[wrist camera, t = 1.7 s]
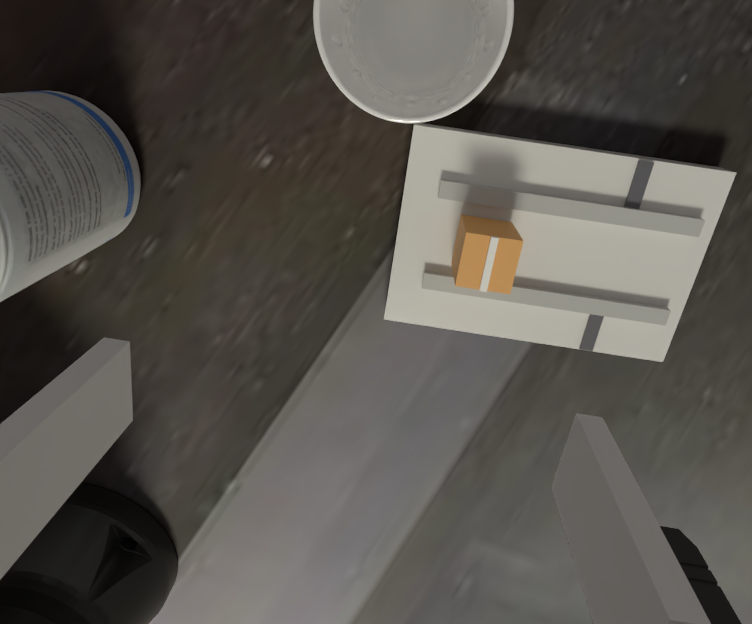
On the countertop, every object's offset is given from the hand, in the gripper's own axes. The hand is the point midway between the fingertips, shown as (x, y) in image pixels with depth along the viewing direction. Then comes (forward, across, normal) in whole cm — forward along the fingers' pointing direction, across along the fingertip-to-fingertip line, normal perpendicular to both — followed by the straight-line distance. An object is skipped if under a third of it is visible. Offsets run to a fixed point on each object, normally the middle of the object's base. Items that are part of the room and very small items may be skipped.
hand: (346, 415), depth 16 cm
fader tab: (+19, +6, +1) cm, 19 cm away
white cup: (+21, 0, +11) cm, 24 cm away
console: (+21, +10, +1) cm, 23 cm away
